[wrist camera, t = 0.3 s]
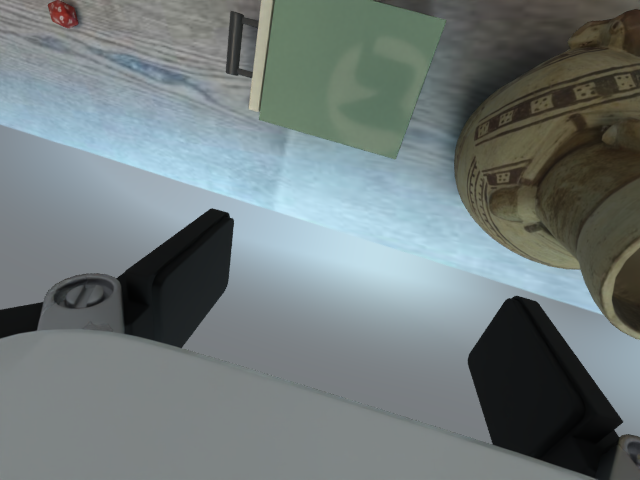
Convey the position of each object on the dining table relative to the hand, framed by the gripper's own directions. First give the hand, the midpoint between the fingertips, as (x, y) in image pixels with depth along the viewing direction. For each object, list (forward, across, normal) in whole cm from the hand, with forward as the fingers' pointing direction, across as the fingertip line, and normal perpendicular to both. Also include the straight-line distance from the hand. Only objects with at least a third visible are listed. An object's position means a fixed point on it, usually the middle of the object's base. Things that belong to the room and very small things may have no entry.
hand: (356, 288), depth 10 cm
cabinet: (+36, +5, -6) cm, 37 cm away
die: (+36, +44, -5) cm, 57 cm away
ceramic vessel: (+36, -18, -4) cm, 40 cm away
